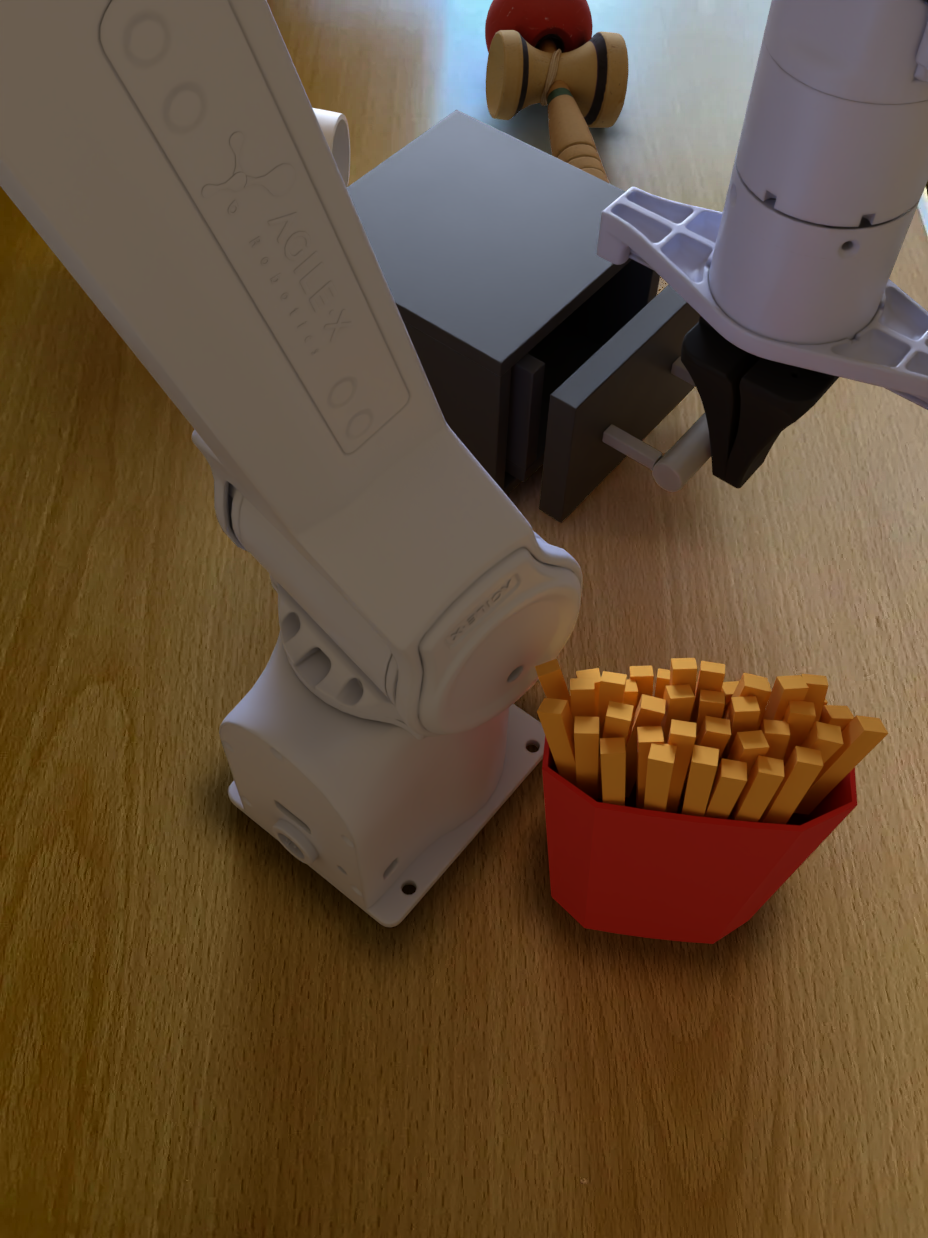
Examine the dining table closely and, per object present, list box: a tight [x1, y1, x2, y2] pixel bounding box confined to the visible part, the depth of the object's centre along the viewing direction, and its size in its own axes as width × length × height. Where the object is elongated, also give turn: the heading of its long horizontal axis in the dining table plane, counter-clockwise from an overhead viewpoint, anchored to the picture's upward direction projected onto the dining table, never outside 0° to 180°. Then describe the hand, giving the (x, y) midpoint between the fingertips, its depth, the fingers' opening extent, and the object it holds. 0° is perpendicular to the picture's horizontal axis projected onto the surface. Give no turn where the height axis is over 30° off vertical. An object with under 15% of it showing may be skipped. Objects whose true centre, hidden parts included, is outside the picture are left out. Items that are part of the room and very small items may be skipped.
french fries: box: [535, 657, 889, 945], centre depth 35 cm, size 9×4×13 cm, turn 83°
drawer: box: [505, 259, 711, 524], centre depth 49 cm, size 14×10×7 cm
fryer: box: [347, 109, 632, 496], centre depth 51 cm, size 11×11×8 cm
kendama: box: [484, 0, 630, 184], centre depth 63 cm, size 8×6×18 cm
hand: (737, 467), depth 47 cm, fingers closed
